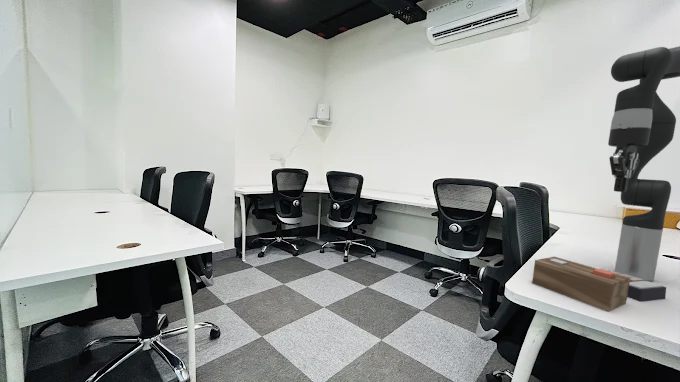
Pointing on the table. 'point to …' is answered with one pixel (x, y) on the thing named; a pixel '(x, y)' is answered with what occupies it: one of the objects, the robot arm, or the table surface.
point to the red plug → (603, 273)
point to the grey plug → (558, 261)
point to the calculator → (643, 289)
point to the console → (581, 283)
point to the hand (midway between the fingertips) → (619, 191)
